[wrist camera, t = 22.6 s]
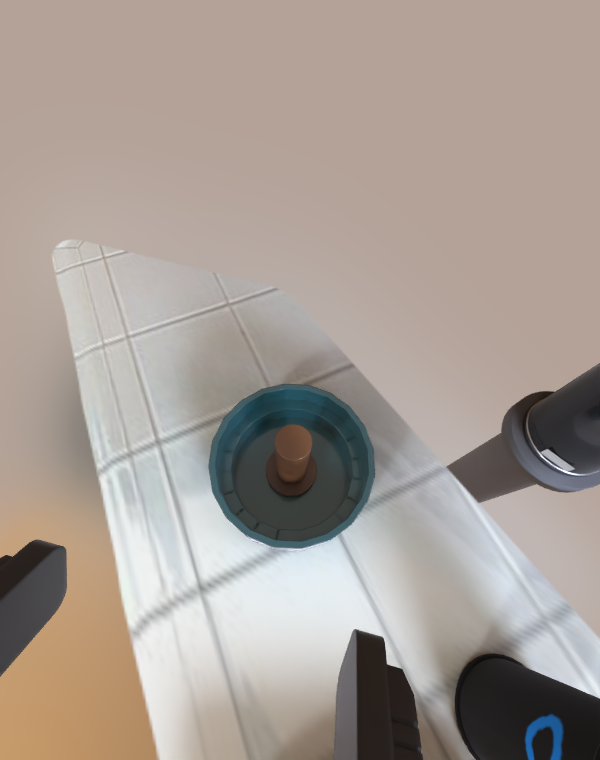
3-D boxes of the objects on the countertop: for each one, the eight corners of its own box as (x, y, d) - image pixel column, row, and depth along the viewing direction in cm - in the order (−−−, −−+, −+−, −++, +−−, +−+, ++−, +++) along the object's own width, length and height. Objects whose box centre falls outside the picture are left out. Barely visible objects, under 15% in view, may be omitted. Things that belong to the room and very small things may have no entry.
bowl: (336, 394, 44) (344, 370, 38) (383, 526, 37) (399, 519, 32) (208, 424, 41) (197, 403, 36) (234, 571, 35) (225, 572, 30)
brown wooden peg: (308, 443, 40) (315, 405, 31) (321, 490, 38) (334, 464, 29) (261, 454, 40) (254, 419, 30) (272, 503, 37) (269, 482, 28)
